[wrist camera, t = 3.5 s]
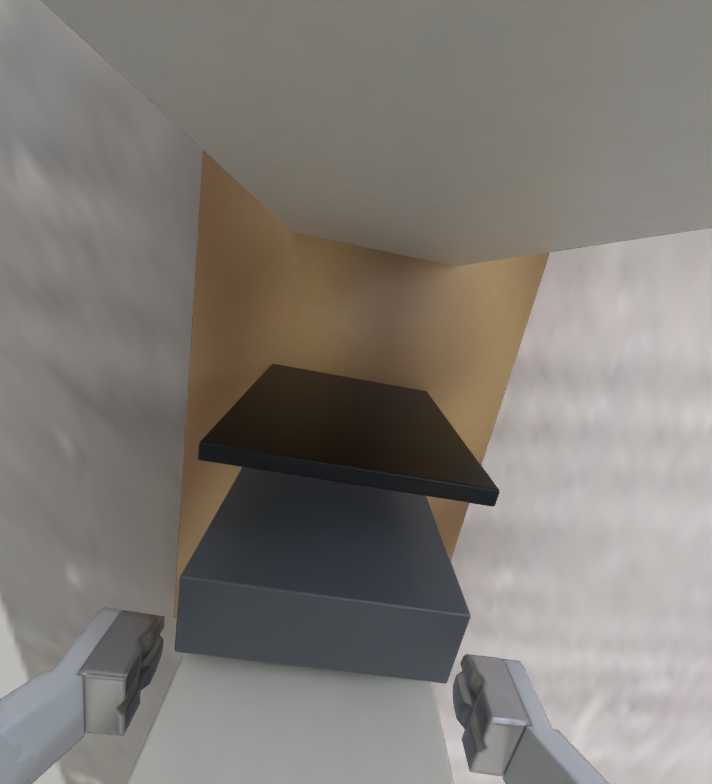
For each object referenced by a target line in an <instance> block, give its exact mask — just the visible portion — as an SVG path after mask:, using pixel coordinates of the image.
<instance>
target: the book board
mask: <svg viewBox="0 0 712 784" xmlns="http://www.w3.org/2000/svg"><path fill="white" fill-rule="evenodd" d="M549 253H550V252H548V253H541V254H534V255H528V256H521V257H514V258H508V259H501V260H494V261H488V262H481V263H474V264H468V265H461V266H452V265H447V264H442V263H437V262H432V261H428V260H423V259H418V258H413V257H408V256H404V255H399V254H394V253H389V252H384V251H380V250H375V249H370V248H365V247H360V246H356V245H351V244H346V243H341V242H336V241H332V240H327V239H322V238H317V237H312V236H308V235H303V234H298V233H293V232H292V231H291V230H290V229H289V228H288V227H286V226H285V225H284V224H283V223H282V222H281V221H280V220H279V219H278V218H277V217H276V216H274V215H273V214H272V213H271V212H270V211H269V210H268V209H267V208H266V207H265V206H264V205H263V204H261V203H260V202H259V201H258V200H257V199H256V198H255V197H254V196H253V195H252V194H251V193H249V192H248V191H247V190H246V189H245V188H244V187H243V186H242V185H241V184H240V183H239V182H238V181H236V180H235V179H234V178H233V177H232V176H231V175H230V174H229V173H228V172H227V171H226V170H224V169H223V168H222V167H221V166H220V165H219V164H218V163H217V162H216V161H215V160H214V159H213V158H211V157H210V156H209V155H208V154H207V153H206V152H205V151H204V150H203V164H202V180H201V196H200V211H199V227H198V243H197V259H196V275H195V290H194V306H193V322H192V338H191V354H190V369H189V385H188V401H187V417H186V433H185V448H184V464H183V480H182V496H181V512H180V527H179V543H178V559H177V575H176V591H175V606H174V618H177V610H178V595H179V580H180V576H181V574H182V572H183V570H184V569H185V567H186V565H187V563H188V562H189V560H190V558H191V556H192V555H193V553H194V551H195V549H196V548H197V546H198V544H199V542H200V541H201V539H202V537H203V535H204V533H205V532H206V530H207V528H208V526H209V525H210V523H211V521H212V519H213V518H214V516H215V514H216V512H217V511H218V509H219V507H220V505H221V504H222V502H223V500H224V498H225V497H226V495H227V493H228V491H229V490H230V488H231V486H232V484H233V483H234V481H235V479H236V477H237V476H238V474H239V472H240V470H241V469H242V467H240V466H234V465H227V464H221V463H214V462H208V461H202V460H198V447H199V442H200V441H201V440H202V439H203V438H204V436H205V435H206V434H207V433H208V432H209V431H210V430H211V429H212V428H213V427H214V426H215V425H216V424H217V422H218V421H219V420H220V419H221V418H222V417H223V416H224V415H225V414H226V413H227V412H228V411H229V410H230V408H231V407H232V406H233V405H234V404H235V403H236V402H237V401H238V400H239V399H240V398H241V397H242V396H243V394H244V393H245V392H246V391H247V390H248V389H249V388H250V387H251V386H252V385H253V384H254V383H255V382H256V380H257V379H258V378H259V377H260V376H261V375H262V374H263V373H264V372H265V371H266V370H267V369H268V368H269V366H270V365H271V364H278V365H283V366H289V367H294V368H300V369H306V370H311V371H317V372H322V373H328V374H333V375H339V376H344V377H350V378H355V379H361V380H367V381H372V382H378V383H383V384H389V385H394V386H400V387H405V388H411V389H416V390H422V391H427V392H428V393H429V395H430V396H431V398H432V399H433V400H434V402H435V403H436V404H437V406H438V407H439V409H440V410H441V411H442V413H443V414H444V415H445V417H446V418H447V419H448V421H449V422H450V424H451V425H452V426H453V428H454V429H455V430H456V432H457V433H458V435H459V436H460V437H461V439H462V440H463V441H464V443H465V444H466V445H467V447H468V448H469V450H470V451H471V452H472V454H473V455H474V456H475V458H476V459H477V461H478V462H479V463H480V465H482V461H483V458H484V455H485V452H486V449H487V446H488V443H489V440H490V437H491V434H492V430H493V427H494V424H495V421H496V418H497V415H498V412H499V409H500V406H501V402H502V399H503V396H504V393H505V390H506V387H507V384H508V381H509V378H510V374H511V371H512V368H513V365H514V362H515V359H516V356H517V353H518V350H519V346H520V343H521V340H522V337H523V334H524V331H525V328H526V325H527V322H528V319H529V315H530V312H531V309H532V306H533V303H534V300H535V297H536V294H537V291H538V287H539V284H540V281H541V278H542V275H543V272H544V269H545V266H546V263H547V259H548V256H549ZM427 499H428V502H429V505H430V507H431V510H432V513H433V515H434V518H435V521H436V523H437V526H438V529H439V532H440V534H441V537H442V540H443V542H444V545H445V548H446V551H447V553H448V556H449V559H450V561H451V558H452V555H453V552H454V549H455V545H456V542H457V539H458V536H459V533H460V530H461V527H462V524H463V521H464V517H465V514H466V511H467V508H468V505H469V503H468V502H462V501H455V500H449V499H443V498H436V497H430V496H427Z"/></svg>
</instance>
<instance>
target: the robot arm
mask: <svg viewBox="0 0 712 784" xmlns="http://www.w3.org/2000/svg"><path fill="white" fill-rule="evenodd" d="M163 628H164V617H163V616H157V615H151V614H145V613H138V612H132V611H126V610H119V609H111V608H102V609H101V610H100V611H99V612H97V613H96V614H95V616H94V617H93V618H92V620H91V621H90V622H89V623H88V625H87V626H86V627H85V629H84V630H83V631H82V632H81V634H80V635H79V636H78V638H77V639H76V640H75V642H74V643H73V644H72V645H71V647H70V648H69V649H68V651H67V652H66V653H65V655H64V656H63V657H62V658H61V660H60V661H59V662H58V664H57V665H56V666H55V668H54V669H53V670H52V671H51V672H49V671H44V672H43V673H41V674H39V675H38V676H36V677H35V678H33V679H31V680H30V681H28V682H27V683H25V684H24V685H22V686H21V687H19V688H17V689H16V690H14V691H12V692H11V693H9V694H8V695H6V696H5V697H3V698H1V699H0V784H32V783H33V782H35V781H36V780H37V779H38V778H39V777H40V776H41V775H42V774H43V773H44V772H45V771H46V770H48V769H49V768H50V767H51V766H52V765H53V764H54V763H55V762H56V761H57V760H59V759H60V758H61V757H62V756H63V755H64V754H65V753H66V752H67V751H68V750H69V749H71V748H72V747H73V746H74V745H75V744H76V743H77V742H78V741H79V740H80V739H81V738H83V737H84V733H92V734H106V735H121V736H124V734H125V732H126V730H127V728H128V726H129V724H130V722H131V720H132V718H133V716H134V714H135V712H136V710H137V708H138V706H139V704H140V691H141V690H142V689H143V688H145V687H146V686H147V685H148V684H150V682H151V680H152V678H153V676H154V674H155V672H156V669H157V666H158V663H159V661H160V658H161V654H162V649H163V638H162V637H161V636H160V633H161V632H162V630H163ZM461 667H462V672H461V673H459V674H458V675H456V678H455V681H454V684H453V703H454V709H455V714H456V718H457V720H458V721H459V722H460V723H461V725H462V726H463V727H464V729H465V731H464V734H463V737H462V742H463V746H464V750H465V754H466V758H467V762H468V766H469V770H470V772H475V773H482V774H489V775H497V776H504V777H503V780H504V781H505V783H506V784H609V783H608V782H607V781H606V780H605V779H604V777H603V776H602V775H601V774H600V773H599V772H598V771H597V770H596V769H595V768H594V767H593V766H592V765H591V764H590V763H589V762H588V761H587V760H586V759H585V758H584V757H583V755H582V754H581V753H580V752H579V751H578V750H577V749H576V748H575V747H574V746H573V745H572V744H571V743H570V742H569V741H568V740H567V739H566V738H565V737H564V736H563V734H562V733H561V732H560V731H559V730H555V729H552V726H551V724H550V722H549V720H548V718H547V716H546V714H545V711H544V709H543V707H542V705H541V703H540V701H539V698H538V696H537V694H536V692H535V690H534V688H533V686H532V683H531V681H530V679H529V677H528V675H527V673H526V670H525V668H524V666H523V665H522V663H521V662H520V661H516V660H508V659H500V658H496V657H487V656H478V655H469V654H466V655H465V656H464V657H463V659H462V661H461Z"/></svg>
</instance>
